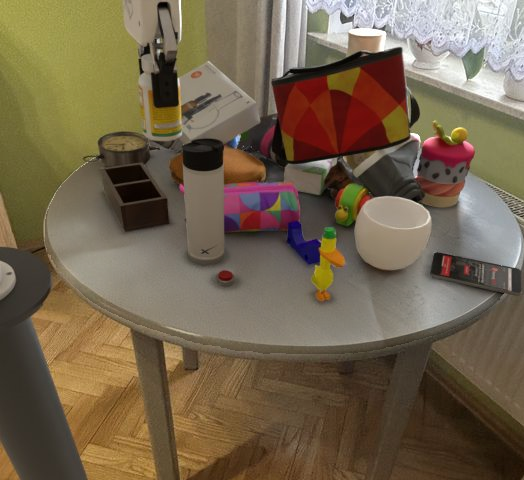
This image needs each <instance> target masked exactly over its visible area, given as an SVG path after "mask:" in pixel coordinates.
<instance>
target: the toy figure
mask: <svg viewBox="0 0 524 480" xmlns="http://www.w3.org/2000/svg"><path fill="white" fill-rule="evenodd" d="M337 237H338V235H337V234H336V229H335V227H333V226H327V227H325V228H324V233H322V236H321V241H320V242H321V247H320V248H319V252H320V262H319V265H317V263H315V264H314V272H313V274H311V276H310V277H311V278H310V281H311V282H312V284H314V286H315V288H316V289H317V292H316V293H315V296H316V299H317V300H318V301H320V302H324V301H325V300H327V301H329V300H331V295H330V293H329V292H327V291H326V290H327V289H328V288H329V287H330V286H331V285H333V282H334V280H335V279H334V272H333V271H332V268H331V265H332V266H333V267H335V268H336V269H338V268H343V267H344V266H345V265H346V259H345V257H344V255H343V254H342V253H341V252H340V250H339V249H338V248H336V244H337Z"/></svg>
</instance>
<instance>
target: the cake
mask: <svg viewBox="0 0 524 480" xmlns="http://www.w3.org/2000/svg"><path fill="white" fill-rule="evenodd" d="M432 128H433V132H432V133H433V134H434V135H435V136H432V137H429V138H427V139H426V140H424V141H423V143H422V147H421V153H420V154H419V157H418V161H419V163H418V165H417V168H416V173H417V175H415V176H414V177H415V180H416V182H419V183H420V186H421V188H420V190H424V192H425V197H424V198H423V201H421V200H420V201H418V203H421V204H422V205H425V206H430V207H433V208H449V207H453V206H454V205H456V204H457V203H458V201H459V198H460V195H461V192H462V191H463V190H464V188H465V185H466V177H467V176H468V174H469V170H470V169H471V162H472V161H473V159H474V157H475V154H476V150H475V148H474V146H473V145H472V144H471V143H470V142H468V141H466V140H467V139H468V131H467V129H466V128H464V127H457V128H454V129H453V130H452V132H451V133H450V136H448V135H446V133H445V130H444V128H443V125H441V124H439V121H438V120H434V121H432Z"/></svg>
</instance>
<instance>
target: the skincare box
mask: <svg viewBox="0 0 524 480" xmlns="http://www.w3.org/2000/svg"><path fill="white" fill-rule="evenodd" d="M178 79H179V81H180V95H181V118H182V134H181V136H180V137H179V140H180V141H181V142H182V143H183V145H185V144H187V143H191V141H192V140H196V139H203V138H212V139H218V140H220V141H222V142H223V144H225V143H227V142H228V141H230V140H232V139H233V138H235V137H237V136H238V135H239V136H241V133H243V132H245V131H247V130H248V129H250V128H252V127H253V126H255V125H257V124H259V123H260V117H261V116H260V114H259V109H258V105H257V104H258V103H257V102H256V101H255V100H254V99H253V98H252V97H250V96H249V95H248V94H247V93H246V92H245V91H244V90H243V89H241V88H240V87H239V86H238V85H237V84H236V83H234V82H233V80H231V79H230V78H229V77H228V76H227V75H225V73H223V72H222V71H220V69H218V68H217V66H215V65H214V64H212V62H210V61H209V60H208V61H206V62H205V63H203V64H200V65H199V66H197V67H195V68H193V69H192V70H189V71H188V72H186V73H185V74H182V75H181V76H179V77H178Z"/></svg>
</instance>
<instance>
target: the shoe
mask: <svg viewBox="0 0 524 480" xmlns="http://www.w3.org/2000/svg"><path fill="white" fill-rule="evenodd" d="M276 122H277V118H274V117H272V123H271V125H270V126H269V128H268V129H267V130H266V131H265V132H264V133H263V134H262V135H261V136H259V137H258V138H256V139H253V140H252V143H251V150H252V151H254V152H258V153H259V154H260V155H262V156H263V157H264V158H267V159H268V160H270V161H272V162H274V163H275V165H277V166H278V167H279V168H282V169H285V167H286V166H287V165H288V161H287V159H285V160H283V159H280V158H279V157H278V156H277V155H276V154H275V153H274V152H272V141H273V135H274V129H275V124H276ZM282 148H284V143H283V139H282V147H281V149H282Z"/></svg>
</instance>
